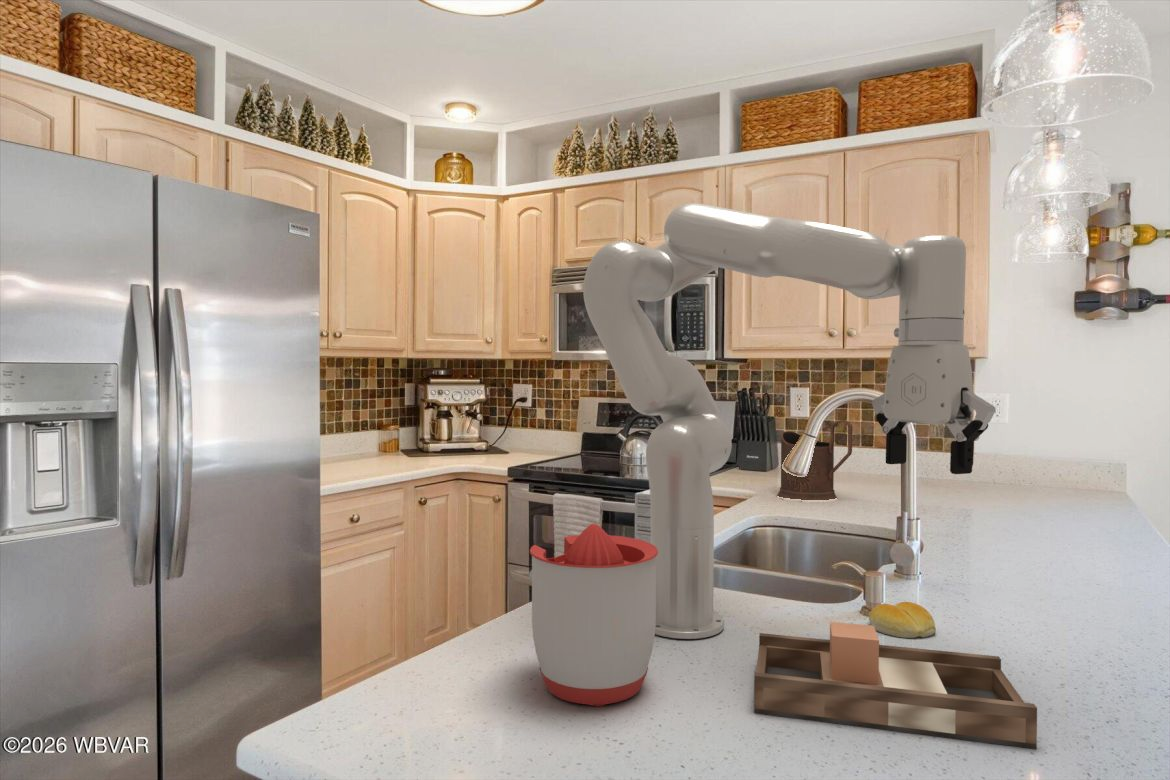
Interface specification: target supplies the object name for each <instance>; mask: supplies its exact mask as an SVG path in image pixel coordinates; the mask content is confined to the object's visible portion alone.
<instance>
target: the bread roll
mask: <svg viewBox="0 0 1170 780" xmlns="http://www.w3.org/2000/svg"><path fill="white" fill-rule="evenodd" d="M868 621H869V625H871V626H874V627H875V630H876V632H878V633H880V634H884V635H886V636H887V635H888V636H890V637H892V636H893V637H896V638H903V639H915V638H917V637H919V638H926V637H927V638H928V637H931V636H932V635H934V634H935V633H936V630H937V628H936V625H935V624H936V623H935V620H934V618H933V616H932V615H931V613H930V612H929V611H928V610H927V609H926V608H925V607H923V606H922V605H920V604H918V603H915V602H912V601H901V602H898V603H896V604H895V605H894V604H890V603H880V604H878V605H876V606H874V607H873V608H871V610H870V612H869V615H868Z"/></svg>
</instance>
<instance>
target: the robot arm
mask: <svg viewBox="0 0 1170 780" xmlns="http://www.w3.org/2000/svg"><path fill="white" fill-rule="evenodd" d="M663 236H664V240H665V242H664V243H661V245H659V246H657V247H655V248H650V247H647V246H646V245H643V244H640V243H636V242H633V241H628V240H616V241H612V242H610V243H607V244H605V245H603V246H602V247H601V248H599V249H598V250H597V252H596V253H595V254H594V255H593V257H592V259H590V262H589V264H588V266H587V269H586V271H585V275H584V279H583V286H582V287H583V288H582V290H583V291H582V293H583V301H584V306H585V309H586V312H587V315H588V317H589V320H590V322H591V324H592V327H593V328H594V330H595V332H596V335H597V336H598V339H599V340H600V343H601V344H602V346H603V349H604V351H605V353H606V356H607V358H608V360H609V362H610V365H611V367H612V369H613V372H614V373H615V376H616V378H617V381H619V384H620V386H621V388H622V390H623V393H624V395H625V397H626V399H627V401H628V403H629V405H631V407H632V409H634V411H636V412H637V413H639V414H642V415H644V416H654V417H655V416H660V418H661V420H662V423H660V424H659V425H658V426H656V427H655V429H653V430H652V432H651V434H650V435H649V437H648V440H647V444H646V447H645V463H646V471H647V477H648V487H649V489H650V504H651V544H653V545H654V546H655V547H656V548H657V550H658V555H657V556H656V624H655V636H661V637H665V638H670V639H679V640H696V639H705V638H709V637H713V636H715V635H718V634H720V633H721V632H722V631H723V630H724V628H725V620H724V618H723V616H722V615H721V614H720V613H718V612H717V611H714V587H715V586H714V579H715V578H714V577H715V576H714V573H715V572H714V571H715V570H714V567H715V566H714V565H715V563H714V560H715V559H714V558H715V557H714V556H715V554H714V553H715V552H714V549H715V546H714V543H715V531H714V530H715V520H714V519H715V518H714V517H715V515H714V513H715V511H714V510H715V509H714V495H713V489H712V484H711V483H712V482H711V476H710V474H711V473H713V472H716V471H718V470H719V469H721V468H723V466H724V465H726V463H727V462H728V460H729V458H730V455H731V454H732V447H733V445H732V444H733V443H732V437H731V433H730V430H729V428H728V425H727V423H726V421H725V419H724V417H723V415H722V413H721V411H720V409H719V407H718V406H717V403H716V401H715V400H714V399H715V398H714V397H713V395H712V393H711V391H710V389H709V387H708V386H707V383H706V382H705V380H704V377H703V375H701V372H700V371H699V370H698V369H697V368H696V366H694V365H693V364H692V363H691V362H690V361H689V360H687V359H685V358H683V357H680V356H675V355H670V354H668V353H669V352H667V350H666V349H665V347H664V345H663V343H662V341H661V339H660V338H659V335H658V334H657V331H656V329H655V327H654V325H653V323H652V321H651V319H650V318H649V317H648V315H647V314H646V313H645V311H644V309H643V308H642V306H641V305H640V303H639V302H638V301H641V302H648V303H651V302H652V303H653V302H658V301H662V300H664V299H666V298H668V297H670V296H673V295H674V294H676V293H678V292H680V291H681V290H683V289H684V288H686V287H688V286H690V285H691V284H693V283H695V282H696V281H698V280H701V278H703V277H705V276H706V275H709V274H710V273H711V272H714V271H715V270H717V269H718V268H721V269H723V270H724V269H725V270H728V271H734V272H738V273H741V274H746V275H750V276H753V277H757V278H758V277H759V278H767V279H768V278H773V277H783V278H790V279H791V278H793V279H797V280H803V281H806V282H807V281H808V282H812V283H814V284H820V285H825V286H828V287H833V288H837V289H841V290H843V291H847V292H849V293H850V294H852V295H854V296H855V297H857V298H860V299H863V300H878V299H879V300H880V299H885V298H890V297H896V296H897V297H898V296H899V303H898V306H899V307H898V327H895V329H894V330H893V335H894V337H895V338H898V339H897V340H898V342H897V343H898V344H897V345H893V347H892V349H891V353H890V355H889V360H888V365H887V371H886V380H885V385H884V386H885V389H884V393H883V394H881V395H879V396H878V397H876V398H874V399H872V401H871V405H872V408H873V411H874V414H875V415H876V416H875V419H876V421H877V422H878V423H879V426H881V432H882V433H883V434H884V435H885V463H886V465H903V464H906V462H907V442H908V441H907V440H908V439H907V438H908V437H907V433H903V432H904V431H905V430H906V429H907V427H908V426H909V424H910V423H911V424H912V423H913V424H914V423H915V424H923V425H924V424H925V425H937V426H938V425H945V426H946V427H947V428H948V429H949V431H950V432H951V434H952V436H953V437H954V438H955V440H951V443H950V458H949V459H950V460H949V461H950V462H949V473H951V474H953V475H966V474H971V473H972V472H973V466H974V458H975V457H974V455H975V454H974V451H975V449H974V448H975V442H977V441H979V439H980V437H981V435H982V434H983V433H984V432H985V431H986V430H988V427H989V423H990V422H991V421H992V419H993V416H994V415H995V413H996V410H997V408H996V407H995V405H993V404H991V403H990V402H988V401H987V400H984V399H983V398H981V397H980V396H978V395H976V394H974V383H973V370H972V364H971V363H972V362H971V357H970V352H969V348H968V347H969V346H968V345H966V344H964V341H965V340H964V336H965V302H966V301H965V299H966V269H967V268H966V267H967V266H966V264H967V250H966V249H967V248H966V247H967V246H966V244H965V241H964V240H963V239H962V238H960V237H958V236H956V235H955V236H954V235H950V234H949V235H948V234H935V235H923V236H917V237H913V238H911V239H909V240H907V241H906V242H904V244H903V245H892V244H889V243H888V242H887V241H886V240H885V239H883V238H882V237H880V236H878V235H877V234H874V233H872V232H868V231H864V230H860V229H854V228H849V227H844V226H839V225H835V224H828V223H823V222H816V221H812V220H811V221H809V220H803V219H801V220H800V219H791V218H787V217H776V216H770V215H769V216H768V215H765V214H759V213H754V212H748V211H742V210H738V209H732V208H728V207H722V206H717V205H712V204H706V203H701V202H689V203H684V204H681V205H679V206H677V207H675V208H674V209H673V210H672V211H671V212H670V213H669V215H668V216H667V218H666V221H665V222H664V228H663ZM973 410H974V411H975V415H974V419H973V420H971V419H972V417H973Z"/></svg>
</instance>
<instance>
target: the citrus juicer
mask: <svg viewBox="0 0 1170 780" xmlns="http://www.w3.org/2000/svg"><path fill="white" fill-rule="evenodd" d="M563 541H564V542H563V554H560V555H557V556H554V557H548V558H547V550H546V549H545V548H542V547H540V546H538V545H536V544H533V545H532V546H531V547H530V549H529V554H530V555H531V570H530V571H529V572H528V578H529V580H531V624H532V638H533V644H534V648H535V649H534V650H535V654H536V658H537V661H538V664H539V671H540V673H541V676H542V679H543V682H544V683H545V686H546V688H547V690H548V691H549V692H550V694H552V695H554V696H555V697H557V698H559V699H561V700H562V701H563V700H564V701H567V702H570V703H576V704H581V705H591V706H593V707H602V706H606V705H608V704H614V703H618V702H623V701H625V700H629V699H630V698H632V697H634V696H635V695H636V694H637V693H639V691H640V690H641V688H642V685H643V684H644V681H645V680H646V679H645V678H646V676H647V674H648V670H649V664H650V660H651V656H652V652H653V650H654V649H653V647H654V642H655V636H656V634H655V624H656V556H657V555H658V550H657V548H656V547H655V546H654V545H653V544H651V543H648V542H646V541H642V540H639V539H635V537H634V538H632V537H630V536H629V537H628V536H620V535H609V534H608V533H607V532H606V531H605V530H604V529H603V528H602V527H601V526H600V525H599V524H597V523H591V524H589V525H588V526H587V527H586V528H585V529H584V530H583V531H582V532H581V533H580V534H575V535H569V536H567V535H566V536H564V540H563Z"/></svg>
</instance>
